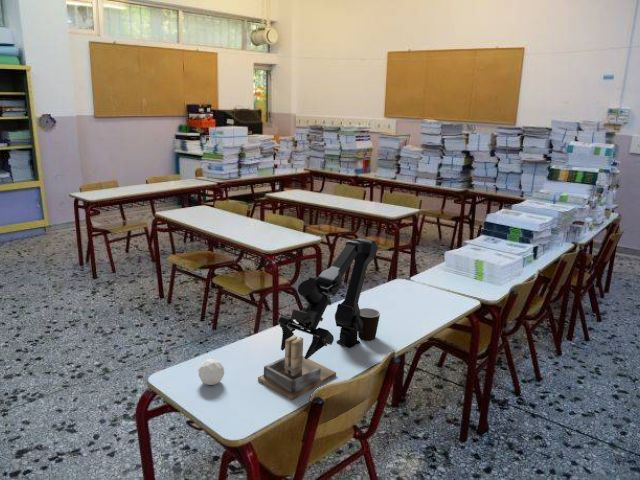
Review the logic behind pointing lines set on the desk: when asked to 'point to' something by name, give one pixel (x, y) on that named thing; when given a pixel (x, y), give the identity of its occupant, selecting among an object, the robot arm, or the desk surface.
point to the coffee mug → (368, 323)
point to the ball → (211, 371)
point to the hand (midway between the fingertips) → (293, 354)
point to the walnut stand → (293, 388)
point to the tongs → (293, 357)
